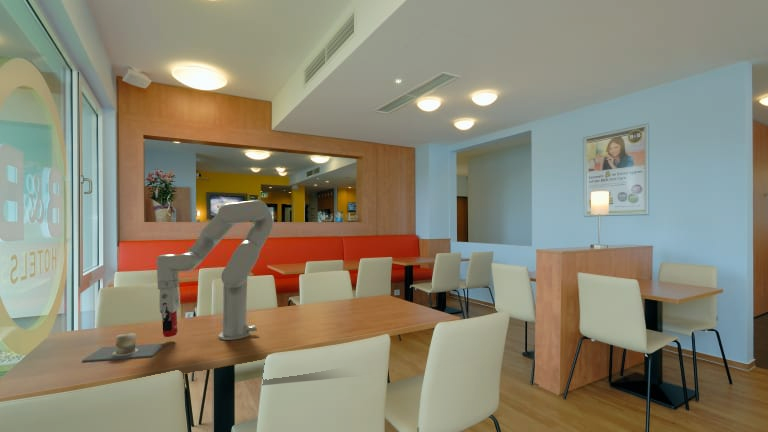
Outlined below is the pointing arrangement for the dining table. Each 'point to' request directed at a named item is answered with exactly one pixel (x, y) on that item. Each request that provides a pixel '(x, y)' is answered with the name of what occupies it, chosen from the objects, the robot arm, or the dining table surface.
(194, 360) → the dining table surface
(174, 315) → the beverage can
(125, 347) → the birch drum
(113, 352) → the mat
